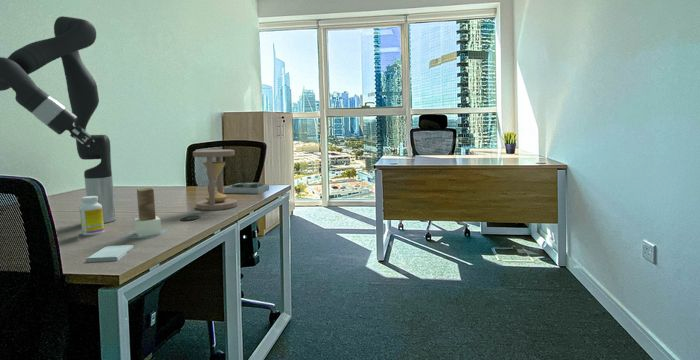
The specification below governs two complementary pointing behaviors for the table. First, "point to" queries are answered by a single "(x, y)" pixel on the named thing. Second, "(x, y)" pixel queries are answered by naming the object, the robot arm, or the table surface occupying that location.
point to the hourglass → (215, 170)
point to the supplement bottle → (91, 216)
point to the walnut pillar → (146, 204)
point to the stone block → (248, 185)
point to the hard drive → (110, 253)
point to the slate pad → (134, 235)
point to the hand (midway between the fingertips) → (101, 151)
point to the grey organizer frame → (246, 189)
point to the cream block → (148, 227)
